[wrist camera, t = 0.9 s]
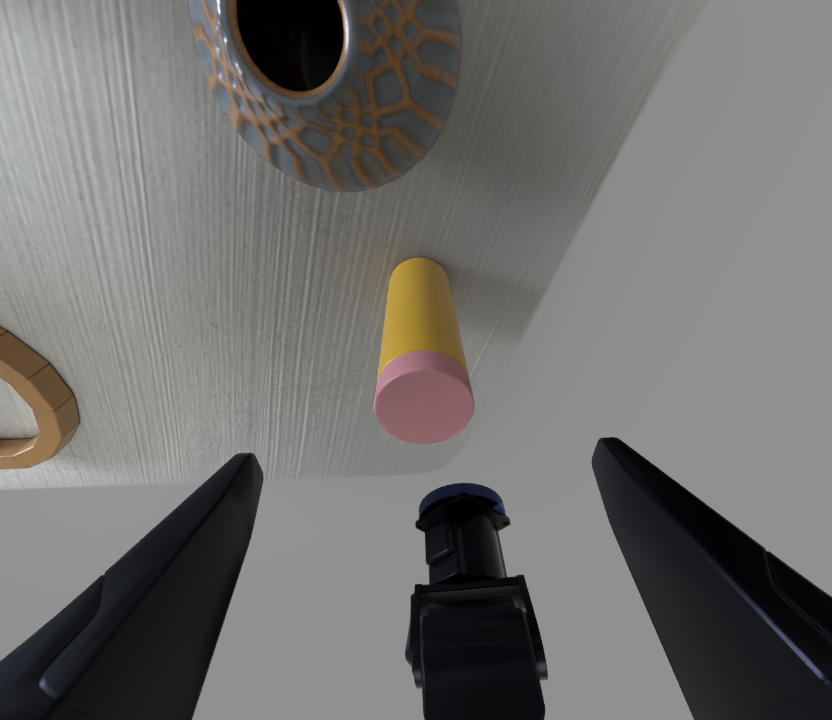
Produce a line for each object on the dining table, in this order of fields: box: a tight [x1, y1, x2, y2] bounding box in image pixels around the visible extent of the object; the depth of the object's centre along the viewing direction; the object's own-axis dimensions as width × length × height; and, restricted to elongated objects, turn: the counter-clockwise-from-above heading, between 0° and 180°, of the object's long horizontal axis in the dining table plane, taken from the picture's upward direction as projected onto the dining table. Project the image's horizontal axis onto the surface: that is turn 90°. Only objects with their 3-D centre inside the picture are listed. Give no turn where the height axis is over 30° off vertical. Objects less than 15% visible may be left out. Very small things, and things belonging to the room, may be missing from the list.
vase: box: [189, 0, 462, 192], centre depth 10 cm, size 7×7×9 cm
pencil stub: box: [374, 257, 474, 443], centre depth 15 cm, size 3×3×9 cm
